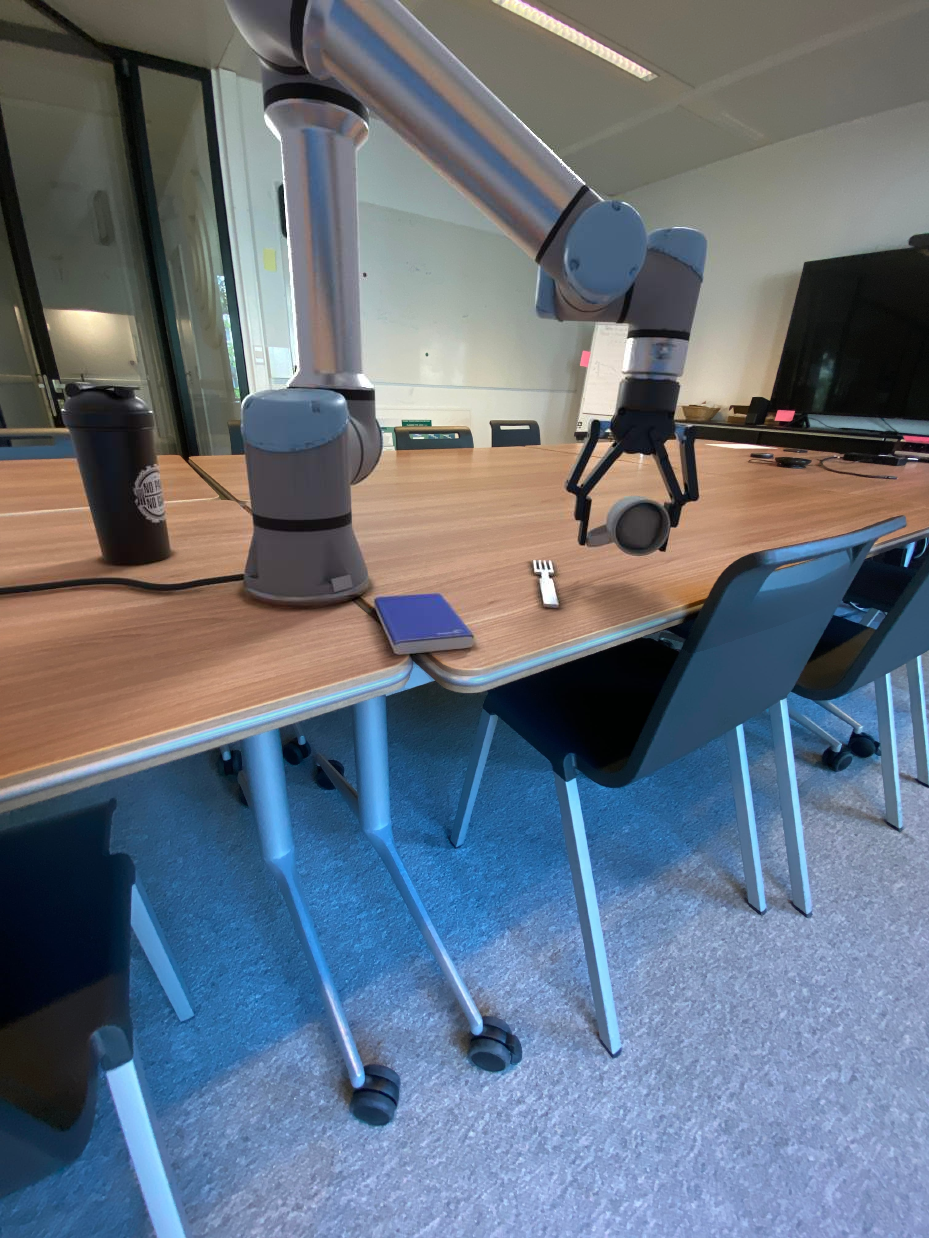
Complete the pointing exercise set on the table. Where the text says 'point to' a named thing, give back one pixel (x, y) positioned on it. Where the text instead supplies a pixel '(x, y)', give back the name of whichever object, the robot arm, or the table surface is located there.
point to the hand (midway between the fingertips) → (620, 546)
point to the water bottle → (118, 471)
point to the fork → (546, 584)
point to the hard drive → (422, 624)
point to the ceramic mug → (633, 526)
